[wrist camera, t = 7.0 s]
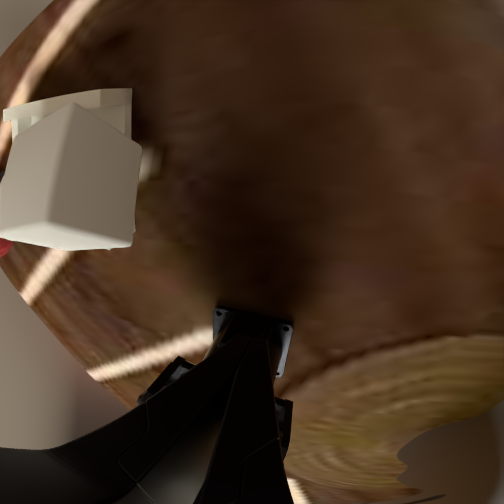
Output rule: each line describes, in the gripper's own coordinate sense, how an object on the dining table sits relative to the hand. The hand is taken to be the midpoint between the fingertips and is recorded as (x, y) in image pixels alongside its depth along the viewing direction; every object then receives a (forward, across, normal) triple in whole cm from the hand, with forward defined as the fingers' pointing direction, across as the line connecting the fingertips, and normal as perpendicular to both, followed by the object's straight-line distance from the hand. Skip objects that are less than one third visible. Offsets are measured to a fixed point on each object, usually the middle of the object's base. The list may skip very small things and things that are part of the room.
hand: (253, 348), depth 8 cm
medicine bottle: (+7, +11, -3) cm, 13 cm away
